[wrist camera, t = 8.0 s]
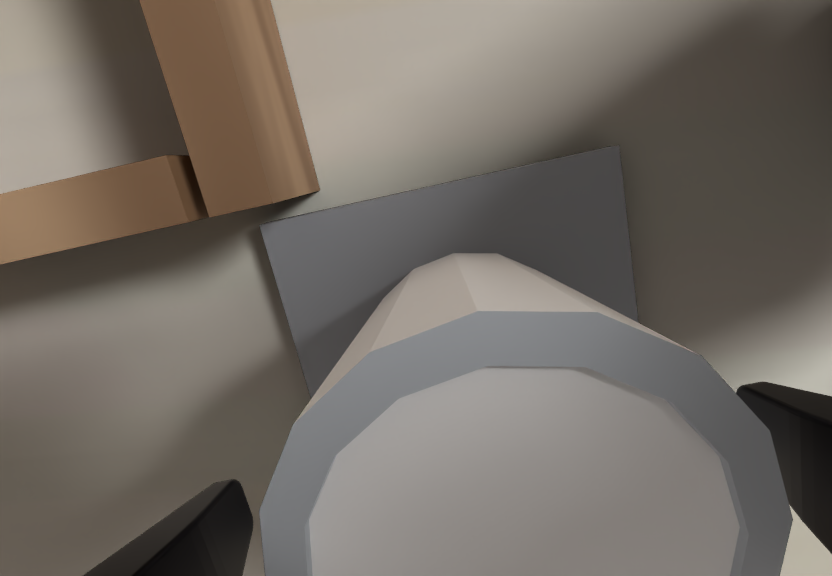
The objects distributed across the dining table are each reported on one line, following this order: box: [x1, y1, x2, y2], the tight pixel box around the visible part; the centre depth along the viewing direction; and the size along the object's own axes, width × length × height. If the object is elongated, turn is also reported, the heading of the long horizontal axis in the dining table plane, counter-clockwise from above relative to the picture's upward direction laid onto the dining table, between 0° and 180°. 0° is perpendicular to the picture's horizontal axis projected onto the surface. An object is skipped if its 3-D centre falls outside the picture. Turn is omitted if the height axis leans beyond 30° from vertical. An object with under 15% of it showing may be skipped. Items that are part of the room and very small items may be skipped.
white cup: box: [259, 253, 793, 576], centre depth 10 cm, size 7×7×7 cm
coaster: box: [259, 146, 639, 399], centre depth 13 cm, size 9×9×1 cm
